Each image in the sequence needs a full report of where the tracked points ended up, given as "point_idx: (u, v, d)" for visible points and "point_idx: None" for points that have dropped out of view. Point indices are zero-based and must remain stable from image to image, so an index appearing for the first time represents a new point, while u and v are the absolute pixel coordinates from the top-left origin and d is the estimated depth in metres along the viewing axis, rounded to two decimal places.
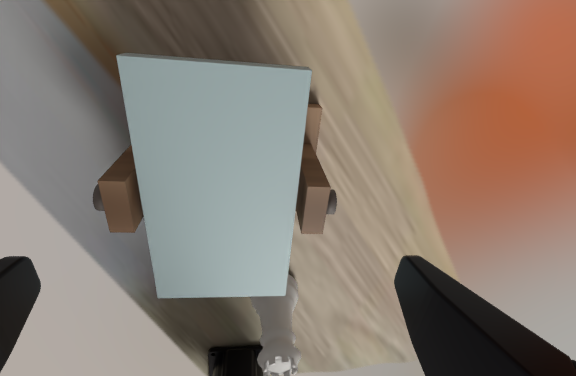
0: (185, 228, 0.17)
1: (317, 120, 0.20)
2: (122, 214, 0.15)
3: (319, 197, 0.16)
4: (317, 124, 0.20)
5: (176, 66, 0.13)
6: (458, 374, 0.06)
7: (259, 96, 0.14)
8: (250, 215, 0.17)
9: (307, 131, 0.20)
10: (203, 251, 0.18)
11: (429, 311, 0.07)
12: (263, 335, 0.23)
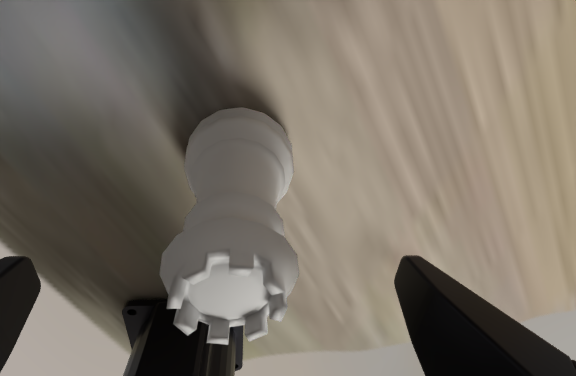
0: None
1: None
2: None
3: None
4: None
5: None
6: (458, 374, 0.06)
7: None
8: None
9: None
10: None
11: (429, 311, 0.07)
12: (190, 216, 0.08)
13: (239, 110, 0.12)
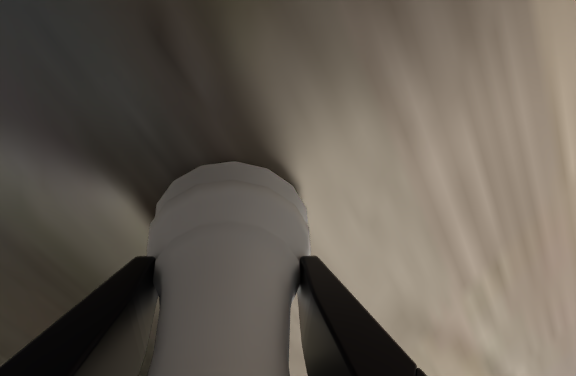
0: None
1: None
2: None
3: None
4: None
5: None
6: None
7: None
8: None
9: None
10: None
11: (309, 314, 0.06)
12: None
13: (230, 166, 0.08)
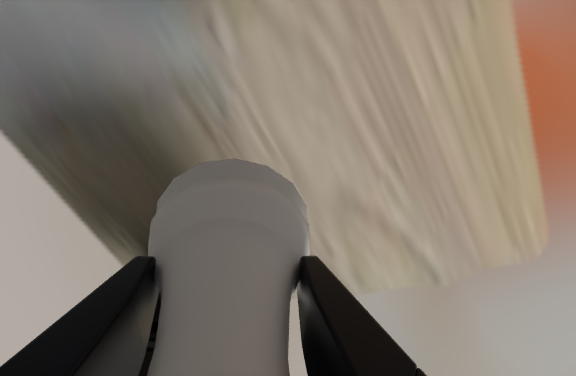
0: None
1: None
2: None
3: None
4: None
5: None
6: None
7: None
8: None
9: None
10: None
11: (309, 314, 0.06)
12: None
13: (230, 163, 0.08)
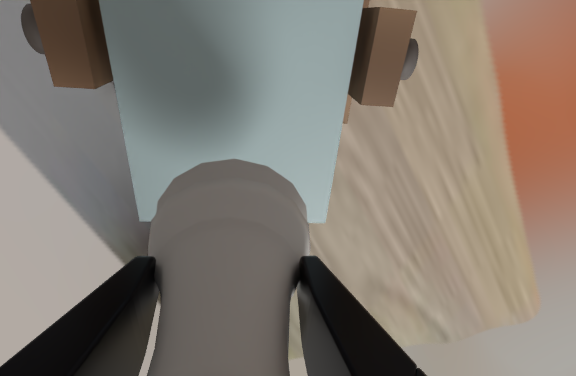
0: (178, 93, 0.11)
1: None
2: (72, 49, 0.09)
3: (396, 31, 0.10)
4: None
5: None
6: None
7: None
8: (282, 71, 0.11)
9: None
10: (207, 138, 0.11)
11: (309, 314, 0.06)
12: None
13: (230, 163, 0.08)
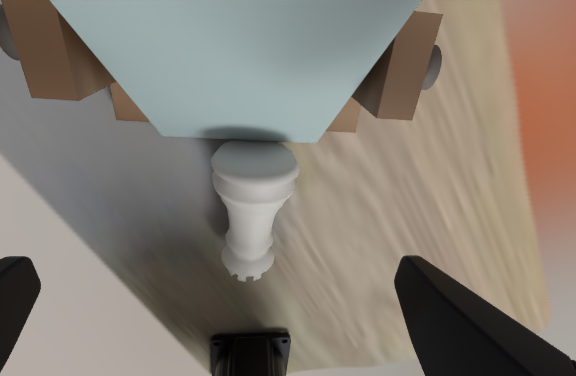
0: (182, 88, 0.11)
1: None
2: (51, 56, 0.08)
3: (419, 37, 0.09)
4: None
5: None
6: (458, 374, 0.06)
7: None
8: (287, 81, 0.10)
9: None
10: (213, 108, 0.12)
11: (429, 311, 0.07)
12: (233, 249, 0.17)
13: (269, 188, 0.14)
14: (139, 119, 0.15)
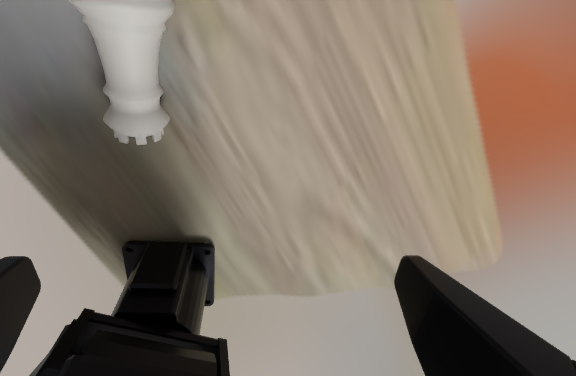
0: None
1: None
2: None
3: None
4: None
5: None
6: (458, 374, 0.06)
7: None
8: None
9: None
10: None
11: (429, 311, 0.07)
12: (106, 94, 0.15)
13: None
14: None
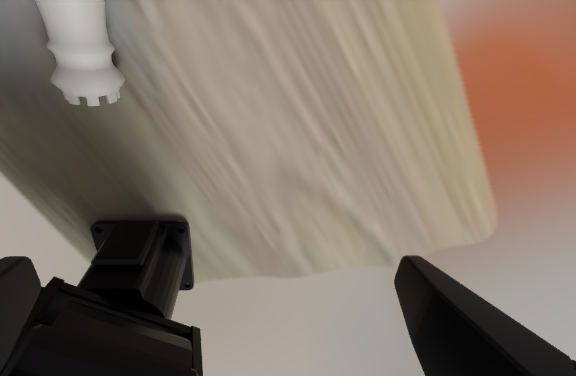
0: None
1: None
2: None
3: None
4: None
5: None
6: (458, 374, 0.06)
7: None
8: None
9: None
10: None
11: (429, 311, 0.07)
12: (49, 49, 0.14)
13: None
14: None
